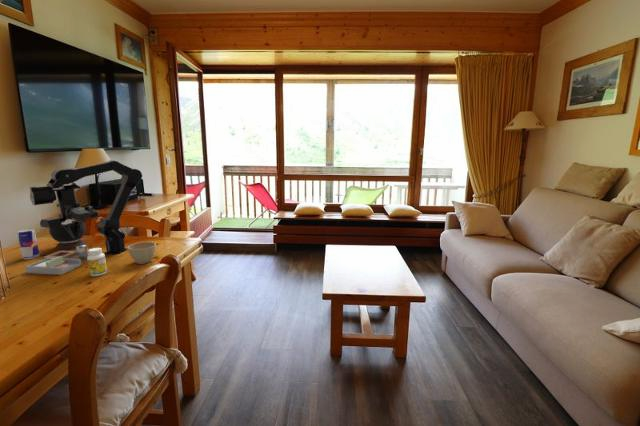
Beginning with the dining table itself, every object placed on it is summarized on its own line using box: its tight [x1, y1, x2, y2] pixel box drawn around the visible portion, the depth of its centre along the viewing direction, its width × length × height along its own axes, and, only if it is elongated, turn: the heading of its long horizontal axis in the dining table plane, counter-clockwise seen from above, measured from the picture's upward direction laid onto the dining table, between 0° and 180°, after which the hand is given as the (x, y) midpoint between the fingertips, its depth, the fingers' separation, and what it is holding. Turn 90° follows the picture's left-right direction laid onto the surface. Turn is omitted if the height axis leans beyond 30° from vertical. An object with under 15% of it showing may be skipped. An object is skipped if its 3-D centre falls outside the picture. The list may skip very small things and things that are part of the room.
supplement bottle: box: [86, 247, 108, 277], centre depth 114 cm, size 5×5×10 cm
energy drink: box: [16, 228, 40, 260], centre depth 129 cm, size 5×5×12 cm
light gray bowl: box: [127, 241, 157, 265], centre depth 126 cm, size 10×10×7 cm
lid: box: [35, 256, 65, 267], centre depth 119 cm, size 7×7×3 cm
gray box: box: [24, 258, 82, 276], centre depth 119 cm, size 14×9×3 cm, turn 85°
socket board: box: [42, 250, 78, 260], centre depth 128 cm, size 8×8×2 cm
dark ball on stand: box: [48, 216, 87, 251], centre depth 143 cm, size 13×13×15 cm
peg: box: [75, 243, 89, 260], centre depth 130 cm, size 4×4×6 cm
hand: (75, 238), depth 126 cm, fingers closed
